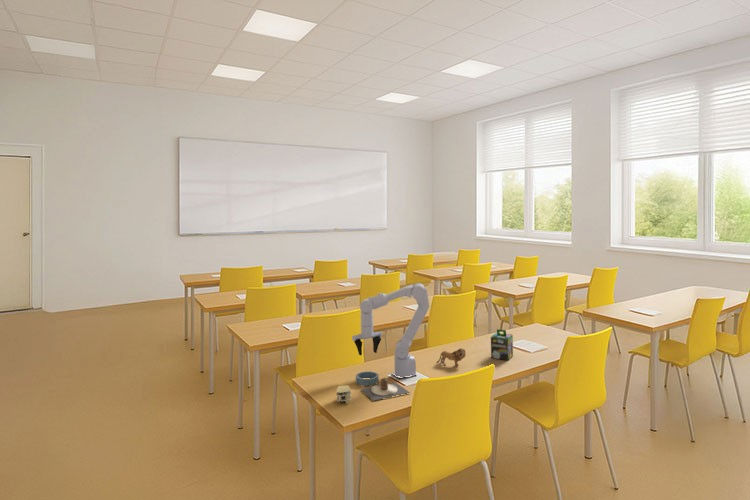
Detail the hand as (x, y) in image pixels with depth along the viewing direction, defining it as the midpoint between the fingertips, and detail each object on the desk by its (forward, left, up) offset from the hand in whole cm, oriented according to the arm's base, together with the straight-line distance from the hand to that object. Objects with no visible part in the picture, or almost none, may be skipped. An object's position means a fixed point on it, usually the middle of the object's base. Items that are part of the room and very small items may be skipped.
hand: (367, 353), depth 214 cm
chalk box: (-72, +9, -11) cm, 73 cm away
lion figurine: (-42, +7, -11) cm, 44 cm away
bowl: (+4, +8, -10) cm, 14 cm away
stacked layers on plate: (+21, +23, -11) cm, 33 cm away
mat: (+2, +22, -10) cm, 24 cm away
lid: (+2, +22, -10) cm, 24 cm away
